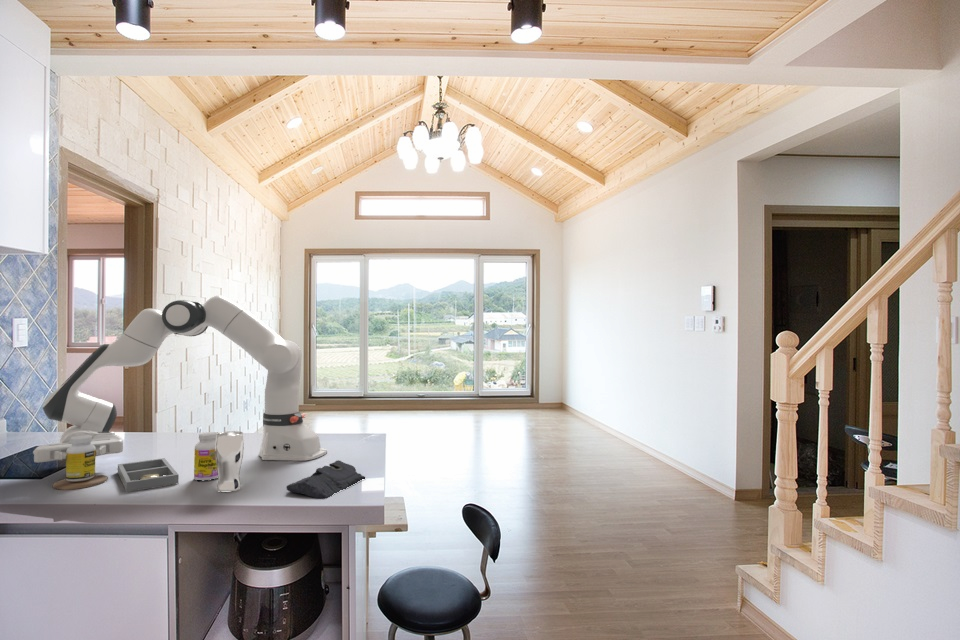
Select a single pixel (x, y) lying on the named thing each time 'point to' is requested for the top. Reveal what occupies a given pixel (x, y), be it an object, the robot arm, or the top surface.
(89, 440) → the pill bottle
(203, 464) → the supplement bottle
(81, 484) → the walnut coaster
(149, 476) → the gold dome knob
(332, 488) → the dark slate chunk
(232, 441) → the shiny silver flared piece
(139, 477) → the parts tray
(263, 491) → the top surface
